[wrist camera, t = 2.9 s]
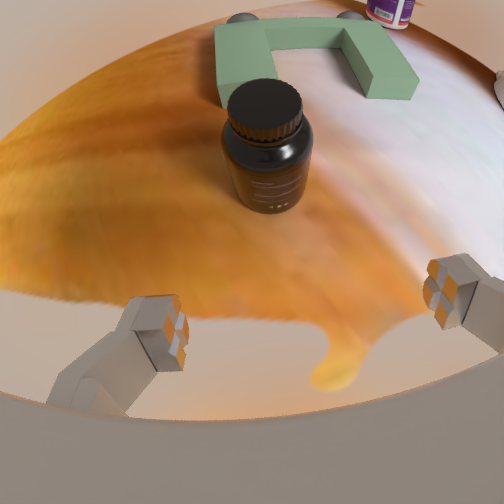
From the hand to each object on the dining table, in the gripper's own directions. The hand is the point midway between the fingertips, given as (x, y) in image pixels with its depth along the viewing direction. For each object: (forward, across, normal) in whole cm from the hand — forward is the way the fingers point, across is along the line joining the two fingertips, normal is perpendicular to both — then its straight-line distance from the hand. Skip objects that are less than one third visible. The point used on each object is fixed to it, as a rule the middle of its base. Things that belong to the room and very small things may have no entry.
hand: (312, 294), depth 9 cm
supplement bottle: (+21, 0, +3) cm, 21 cm away
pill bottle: (+44, -26, -20) cm, 55 cm away
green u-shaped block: (+33, -8, -10) cm, 36 cm away
